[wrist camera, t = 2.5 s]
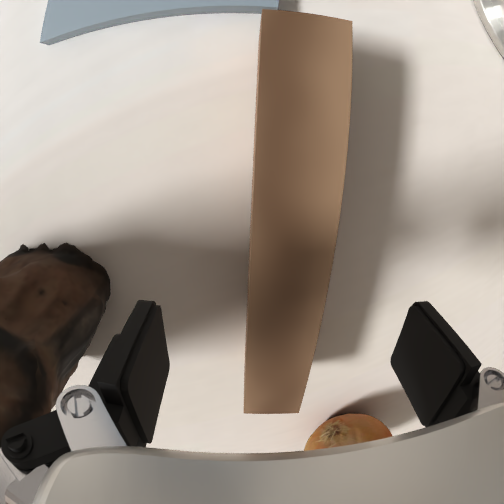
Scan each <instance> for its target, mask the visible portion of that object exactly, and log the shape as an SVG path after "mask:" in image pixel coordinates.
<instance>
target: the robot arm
mask: <svg viewBox="0 0 504 504" xmlns="http://www.w3.org/2000/svg"><path fill="white" fill-rule="evenodd" d="M474 3H475V6H476V9H477V11H478V14H479V16H480V18H481V20H482V22H483V24H484V26H485V29H486V31H487V32H488V34H489V36H490V38H491V39H492V41H493V43H494V44H495V46H496V47H497V49H498V51H499V52H500V54H501V55H502V56H503V58H504V0H474ZM391 366H392V368H393V370H394V371H395V373H396V375H397V377H398V379H399V381H400V383H401V385H402V386H403V388H404V390H405V392H406V394H407V396H408V398H409V400H410V402H411V404H412V406H413V408H414V410H415V412H416V414H417V416H418V418H419V420H420V422H421V424H422V425H423V426H425V427H426V428H423V429H419V430H416V431H412V432H408V433H404V434H400V435H396V436H392V437H388V438H383V439H379V440H374V441H369V442H364V443H358V444H353V445H347V446H340V447H333V448H325V449H317V450H307V451H295V452H281V453H207V452H191V451H179V450H169V449H157V448H146V443H151V442H152V439H153V435H154V430H155V426H156V422H157V417H158V413H159V409H160V405H161V401H162V397H163V393H164V389H165V385H166V381H167V377H168V373H169V367H170V363H169V356H168V351H167V345H166V339H165V332H164V326H163V319H162V312H161V307H160V306H158V305H156V303H155V302H154V301H144V300H139V301H138V302H137V304H136V306H135V308H134V309H133V311H132V313H131V315H130V317H129V319H128V321H127V322H126V324H125V326H124V328H123V330H122V332H121V334H116V335H115V336H114V337H113V339H112V341H111V343H110V344H109V346H108V348H107V350H106V352H105V354H104V356H103V358H102V360H101V362H100V364H99V366H98V368H97V370H96V372H95V374H94V376H93V378H92V380H91V382H90V384H89V386H85V385H76V386H71V387H69V388H67V389H65V390H64V391H63V392H62V393H61V394H60V395H59V397H58V398H57V401H56V410H55V411H52V412H50V413H47V414H45V415H42V416H40V417H37V418H35V419H32V420H30V421H27V422H25V423H22V424H19V425H17V426H14V427H12V428H10V429H8V430H7V431H6V432H5V433H4V435H3V437H2V440H1V448H0V504H504V373H503V372H501V371H500V370H498V369H496V368H492V367H487V368H484V369H483V370H482V371H481V373H479V372H478V370H479V368H480V366H481V363H480V361H479V360H478V359H477V358H476V356H475V355H474V354H473V353H472V351H471V350H470V349H469V348H468V346H467V345H466V344H465V343H464V342H463V340H462V339H461V338H460V337H459V336H458V334H457V333H456V332H455V331H454V330H453V329H452V327H451V326H450V325H449V324H448V323H447V322H446V321H445V319H444V318H443V317H442V316H441V315H440V314H439V313H438V312H437V311H436V309H435V308H434V307H433V306H432V305H431V304H430V303H429V302H427V301H424V302H415V303H414V304H413V305H412V306H411V307H410V308H409V310H408V313H407V316H406V319H405V322H404V325H403V328H402V330H401V333H400V336H399V338H398V341H397V344H396V346H395V349H394V351H393V354H392V356H391Z"/></svg>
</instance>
